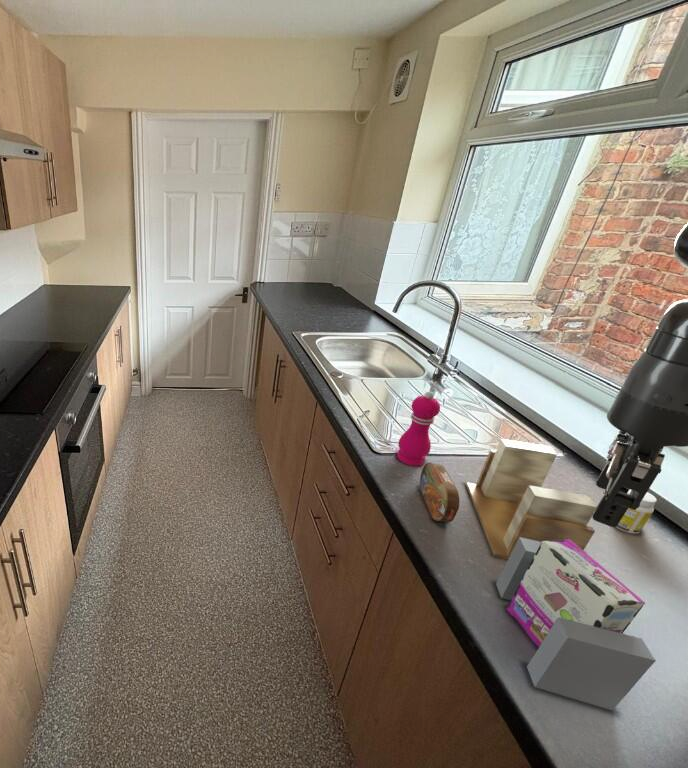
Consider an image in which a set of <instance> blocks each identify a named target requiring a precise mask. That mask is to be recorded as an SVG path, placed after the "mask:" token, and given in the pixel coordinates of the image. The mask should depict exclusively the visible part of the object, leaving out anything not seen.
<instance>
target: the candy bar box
mask: <svg viewBox="0 0 688 768" xmlns="http://www.w3.org/2000/svg"><path fill="white" fill-rule="evenodd" d="M584 551H585V550H582V549H581V548H580V547H578V546H577V545H576V544H575V543H574V542H573V541H571V540H570V539H569V540H556V541H542V542H541V544H540V546H539V548H538V550H537V552H536V554H535V556H534V558H533V560H532V561H531V563H530V565H529V567H528V569H527V571H526V573H525V575H524V577H523V579H522V580H521V582H520V584H519V586H518V588H517V590H516V592H515V594H514V595H513V597H512V599H511V600H509V602H508V605H507V606H506V610H507V611H508V613H509V614H510V615H511V617H512V618H513V619H514V620H515V621H516V622H517V624H518V625H519V626H520V627H521V628H522V630H523V631H524V632H525V633H526V634H527V635H528V637H529V638H530V639H531V641H532V642H533V643H534V644H535V646H537V648H539V647H540V645H541V644H542V642H543V640H544V639H545V637H546V636H547V634H548V632H549V631H550V629H551V628H552V626H553V625H554V623H555V621H556V620H557V618H558V617H559V618H563V619H567V620H571V621H575V622H579V623H583V624H587V625H591V626H594V627H598V628H602V629H606V630H610V631H614V632H618V633H622V634H624V633H625V631H626V630H627V628H628V627H629V626H630V625H631V623H632V622H633V620H634V619H635V618H636V616H637V615H638V614H639V612H640V611H641V610H642V608H644V605H646V601H644V600H643V599H642V598H640V597H639V596H638V595H637V594H636V593H634V592H633V590H631V589H630V588H628V586H626V585H625V584H624V583H622V581H620V580H619V579H618V578H617V577H615V576H614V575H613V574H612V573H611V572H610V571H608V570H607V569H606V568H605V567H603V566H602V564H601V563H599V562H597V560H595V559H594V558H593V557H592V556H590V555H589V554H588V553H587V551H586V552H584Z"/></svg>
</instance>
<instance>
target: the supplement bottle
mask: <svg viewBox="0 0 688 768" xmlns="http://www.w3.org/2000/svg"><path fill="white" fill-rule="evenodd" d="M630 492H631V489H628V491H627V493H626V494H629V495H630ZM657 501H658V499H657V497H656V496H654V495H653V494H651V493H650V492H648V491H647V493H646V494H645V496H644V498H643V499H642V501H641V503H640V506H639V508H637V509H636V510H633V509H630V508H628V509H627V511H626V513H625V514H624V516H623V517H622V519H621V520H620V522H619V524H618V525H617V526H616V527H615V528H616V529H618V530H620V531H622V532H625V533H628V534H640V533H641V532H642V530H643V529H644V527H645V525H646V524H647V522H648V521H649V519H650V518H651V516H652V515H653V513H654V511H655V507H654V506H655V505H656V503H657Z"/></svg>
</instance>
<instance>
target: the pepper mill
mask: <svg viewBox="0 0 688 768" xmlns="http://www.w3.org/2000/svg"><path fill="white" fill-rule="evenodd" d="M411 410H412V411H411V415H410V419H411V424H410V426H409V427H408V429H406V431H404V433H403V434H402V435H401V436H400V438H399V439H398V443H397V444H398V451H397V455H396V457H397V459H398V460H399V461H400V462H402V463H403V464H404V465H405V464H406V465H408V466H412V467H420V466H423V465H425V461H426V456H427V455H428V454H430V452H431V447H432V446H431V444H432V443H431V439H430V434H429V429H430V426H431V425H433V424H434V422H435V417H436V416H437V415H439V413H440V411H441V404H440V402H439V401H438V400H437V399H436V398H434V393H433V392H432V391H426V392H425V394H424V395H420V396H416V398H414V399H413V400H412V403H411Z"/></svg>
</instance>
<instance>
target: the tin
mask: <svg viewBox="0 0 688 768" xmlns="http://www.w3.org/2000/svg"><path fill="white" fill-rule="evenodd" d="M419 490H420V492H421V494H422V497H423V499H424V502H425V504H426V506H427V509H428V511H429V514H430V516H431V518H432V519H433V520H435V521H437V522H445V523H450V522H453V521H454V519H455V518H456V516H457V513H458V512H459V509H460V496H459V490H458V489H457V487H456V485H455V483H454V482H453V480H452V478H451V476H450V475H449V472H448V471H447V469H446V468H445V466H443V465H442V464H439V463H433V462H427V463H424V466H423V467H422V469H421V472H420V477H419Z"/></svg>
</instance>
